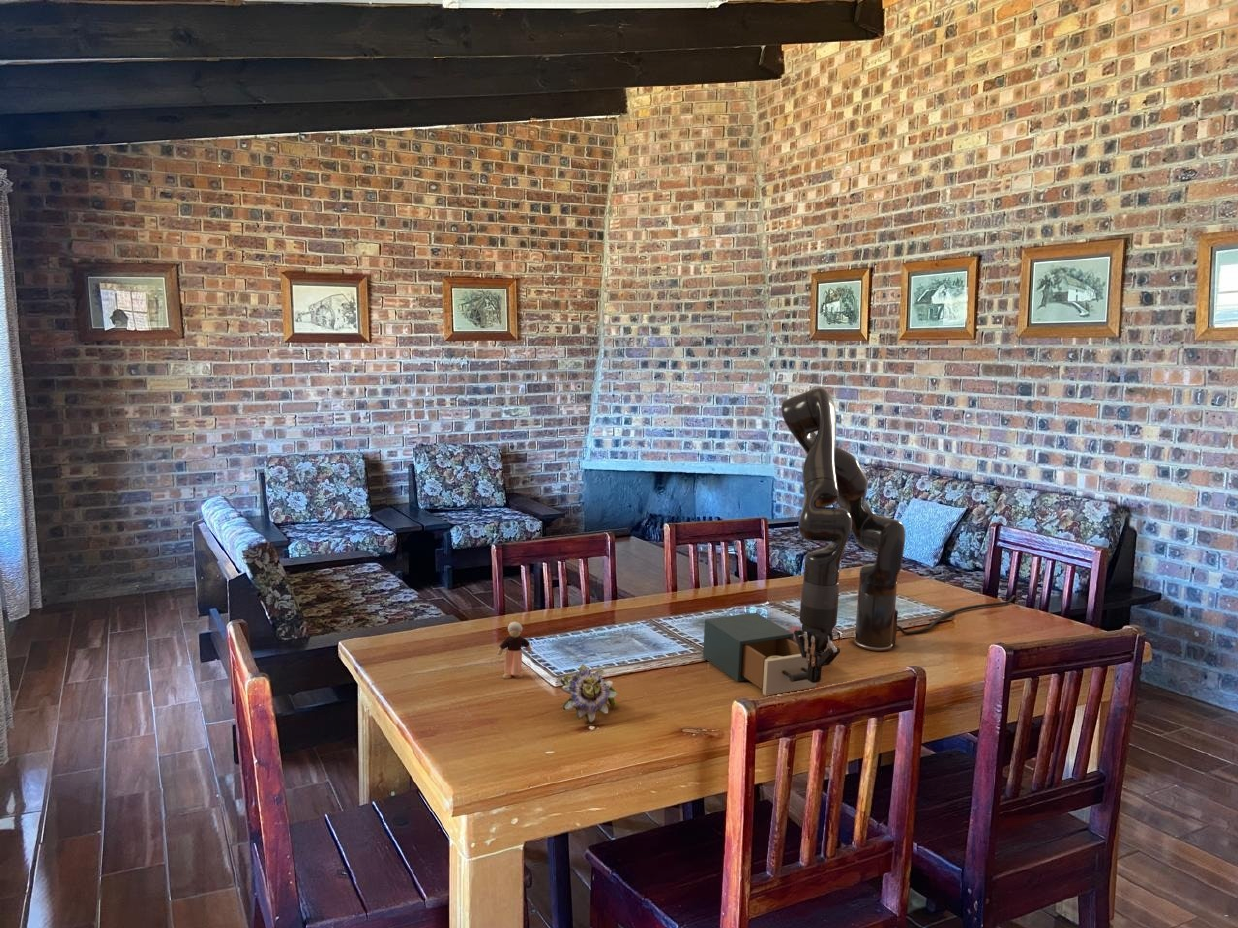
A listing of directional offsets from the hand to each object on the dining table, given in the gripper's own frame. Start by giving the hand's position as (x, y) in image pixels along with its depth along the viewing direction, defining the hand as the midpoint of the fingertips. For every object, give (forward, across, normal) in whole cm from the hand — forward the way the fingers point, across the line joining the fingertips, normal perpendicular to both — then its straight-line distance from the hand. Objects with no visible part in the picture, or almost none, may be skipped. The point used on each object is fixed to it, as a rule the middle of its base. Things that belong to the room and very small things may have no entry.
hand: (813, 681), depth 183 cm
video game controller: (+6, +30, -16) cm, 35 cm away
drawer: (+5, +12, 0) cm, 14 cm away
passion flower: (+6, +15, +45) cm, 48 cm away
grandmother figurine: (+6, +38, +53) cm, 66 cm away
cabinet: (+6, +25, 0) cm, 26 cm away
